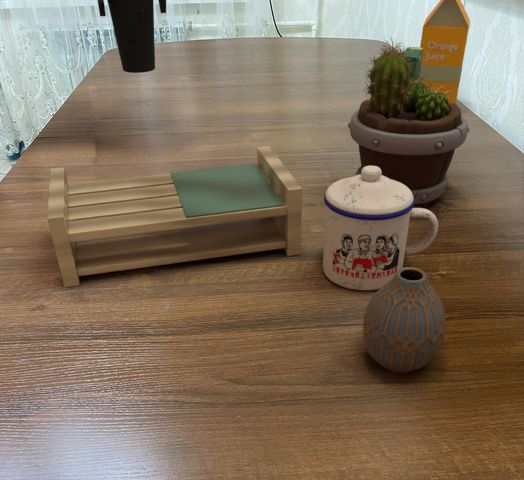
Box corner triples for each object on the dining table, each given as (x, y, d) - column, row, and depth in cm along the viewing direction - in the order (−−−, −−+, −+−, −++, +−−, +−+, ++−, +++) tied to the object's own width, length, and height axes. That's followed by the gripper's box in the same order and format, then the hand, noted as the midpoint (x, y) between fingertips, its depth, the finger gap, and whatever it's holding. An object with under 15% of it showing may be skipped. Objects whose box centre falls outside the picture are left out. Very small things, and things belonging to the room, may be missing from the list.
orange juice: (410, 114, 112) (426, -11, 100) (414, 101, 118) (429, -18, 106) (454, 117, 110) (476, -10, 98) (455, 104, 117) (476, -17, 104)
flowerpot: (424, 170, 90) (447, 18, 78) (475, 213, 78) (510, 42, 66) (330, 180, 88) (338, 25, 76) (367, 226, 76) (384, 51, 64)
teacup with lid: (322, 293, 64) (328, 186, 56) (318, 251, 71) (323, 152, 64) (438, 293, 63) (458, 186, 56) (422, 251, 70) (438, 151, 63)
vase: (362, 332, 58) (371, 250, 53) (437, 340, 57) (453, 257, 51) (356, 378, 53) (365, 292, 47) (438, 388, 51) (457, 300, 46)
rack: (64, 230, 76) (50, 168, 71) (269, 205, 81) (269, 146, 76) (64, 287, 65) (47, 218, 60) (300, 254, 70) (302, 188, 65)
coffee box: (397, 127, 106) (406, 45, 98) (413, 129, 105) (424, 45, 97) (388, 142, 100) (398, 55, 92) (406, 144, 99) (417, 56, 91)
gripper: (26, -165, 81) (51, -9, 78) (180, -164, 85) (208, -16, 82) (37, -115, 88) (60, 30, 85) (178, -116, 92) (204, 22, 89)
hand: (133, 7), depth 84 cm, fingers closed on drinking cup, 8 cm apart
